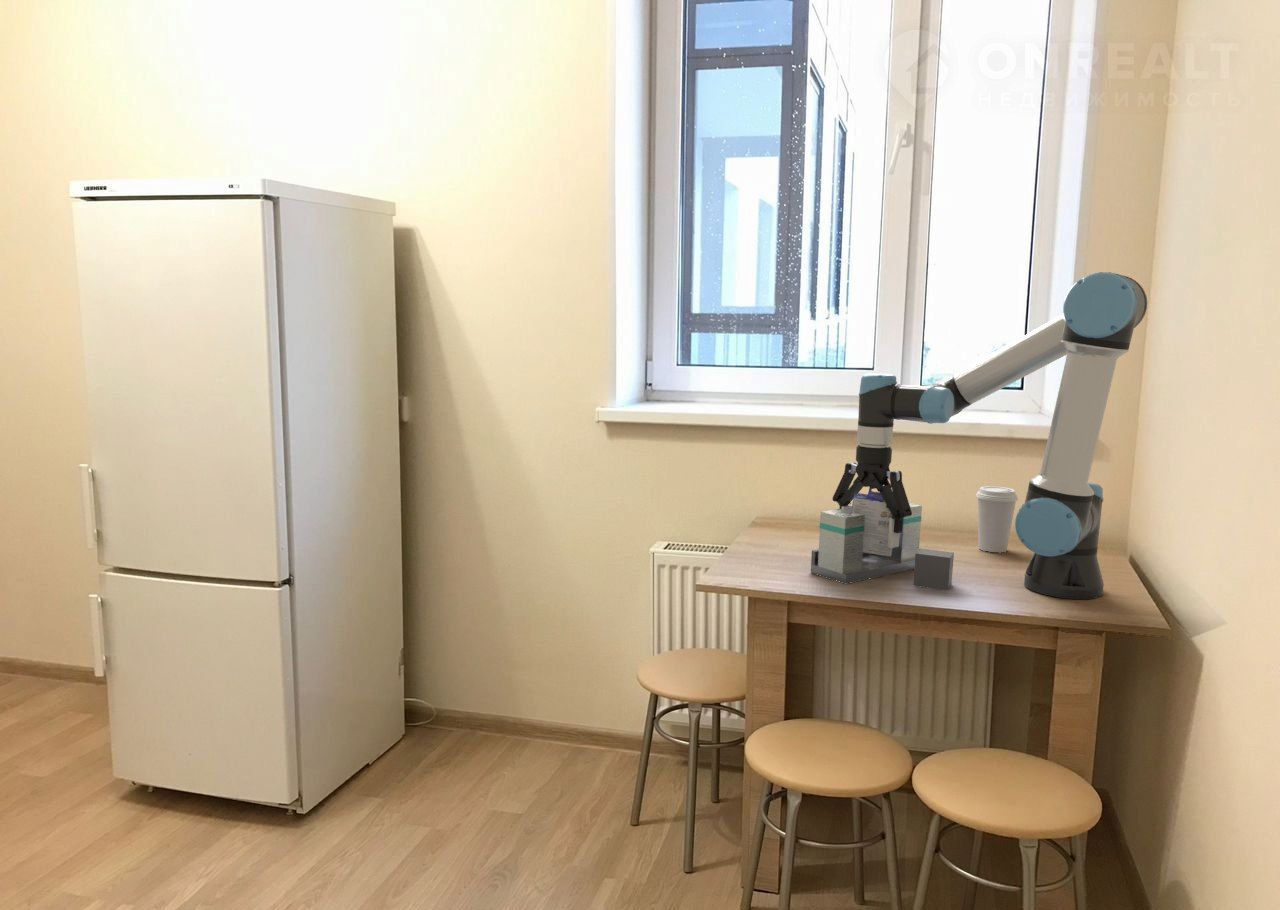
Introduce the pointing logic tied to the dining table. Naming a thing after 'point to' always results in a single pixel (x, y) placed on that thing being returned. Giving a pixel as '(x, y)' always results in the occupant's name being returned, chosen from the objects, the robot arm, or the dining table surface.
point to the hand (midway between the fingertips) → (868, 540)
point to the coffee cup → (995, 517)
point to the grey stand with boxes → (861, 547)
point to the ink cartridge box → (874, 522)
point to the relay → (933, 569)
